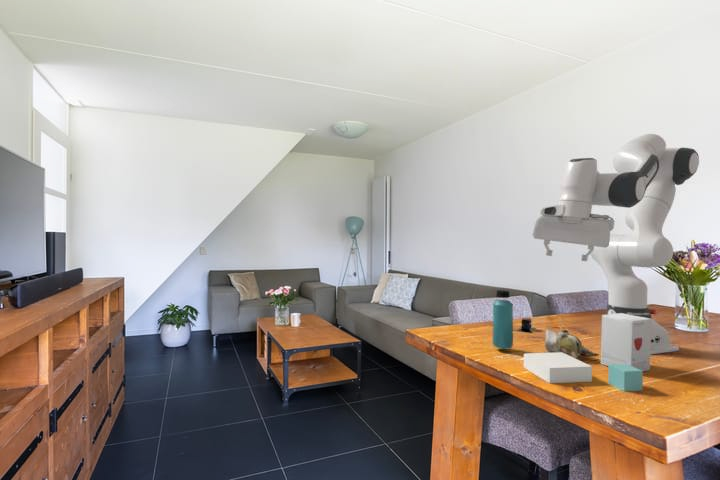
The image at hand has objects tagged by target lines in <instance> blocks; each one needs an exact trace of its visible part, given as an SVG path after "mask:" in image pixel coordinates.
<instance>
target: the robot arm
mask: <svg viewBox="0 0 720 480" xmlns="http://www.w3.org/2000/svg"><path fill="white" fill-rule="evenodd" d="M615 152H616V153H615V154H614V156H613V159H612V161H613V162H612V163H613V167H614V169H615V171H616V172H612V173H610V172H608V173H601V172H599V170H598V160H597V159H596V158H593V157H586V158H585V157H582V158H571V159H570V160H568V161H567V163H566V164H565V168H564V170H563V175H562V179H561V185H560V189H561V193H560V197H559V198H558V203H557V204H555V205H550V206H545V207H542V208H540V216H538V217H537V218H536V220H535V222H534V225H533V229H532V233H531V234H532V237H533V239H536V240H542V241H543V245H544V247H545V250H546V253H545V256H550V257H553V251H554V250H552V249H550V247H549V245H550V244H551V241H552V242H558V243H567V244H575V245H582V246H587V249H588V252H587V253H585V254H581V259H580V260H581V261H582V262H583V261H584V262H588V260H589V256H591V258H592V259H593V260H594V261H595V262H596V263H597V264H598V265H599V266H600V267H601V269H602V270H603V272H604V275H605V277H606V281H607V291H608V303H607V304H606V315H607V314H617V313H624V314H629V315H634V316H639V317H645V318H650V319H651V344H650V355H657V354H664V353H672V352H673V353H674V352H680V348H679V347H678V346H677V345H675V344H672V343H671V336H670V332H669V331H668V330H667V329H666V328H665V327H663V326H661V324H659V323H658V322H657V321H656V320H654V319H653V317H652V315H654V316H658V314H659V309H656V308H652V307H651V308H649V307H648V285H647V284H646V282H645V281H644V280H642V279H641V278H640V277H638V276H637V275H636V274H635V273H634V270H633V268H632V267H636V268H637V267H638V268H645V269H646V268H658V267H664V266H666V265H667V264H669V262H671V260H672V259H673V256H674V248H673V245H672V243H671V241H670V240H669V239H668V238H666V237H665V236H664V234H663V227H664V225H665V224H664V223H665V222H666V220H667V216H668V215H669V213H670V211H671V208H672V206H673V203H674V200H675V196H676V190H677V187H676V186H680V185H683V184H684V183H685V182H686V181H688V180H689V179H690V178H691V177H694V174H695V173H697V171H698V168H699V166H700V165H699V164H700V158H699V157H700V156H699V153H698V151H696V150H695V149H693V148H691V147H680V148H679V147H667V143H666V141H665V140H664V138H663V137H662V136H661V135H658V134H656V133H646V134H643V135H640V136H638V137H636V138H633V139H632V140H630V141H628V142H627V143H625V144H624V145H622V146H621V147H620V148H619V149H618V150H617V151H615ZM593 206H602V207H604V206H605V207H619V208H628V211H627V212H626V214H625V224H626V226H627V227H628V228H629V229H631V230H632V232H630V233H629V234H611V231H613V229H614V227H615V220H614V218H613V217H611V216H610V215H608V214H598V213H592V210H593V209H592V208H593Z"/></svg>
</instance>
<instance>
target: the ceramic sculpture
mask: <svg viewBox="0 0 720 480" xmlns="http://www.w3.org/2000/svg"><path fill="white" fill-rule="evenodd" d="M544 338H545V339H544V346H545V347H544V348H545V350H546V351H547V353H556V352H562V353H565V354H567V355H569V356H571V357H573V358H575V359H577V360H579V361H580V358H578V357H579V356H580V357H584V358H593V357H598V356H599V353H595V352H593V351H591V350H590V349H589V348H587V347H585V346H584V345H582V342H581V340H580V339H579V337H578V336H576V335H573V334H570V333H569V331H568V330H567V329H566V330H560V331H558V333H557V332H556V331H553V330H550V329H549V328H546V330H545V336H544Z"/></svg>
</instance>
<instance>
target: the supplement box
mask: <svg viewBox="0 0 720 480" xmlns="http://www.w3.org/2000/svg"><path fill="white" fill-rule="evenodd" d="M600 339H601V341H600V342H601V344H600V364H601V365H603V366H606V367H609V365H611V364H627V365H630V366H632V367H635V368H637V369H639V370H642V371H643V372H645V371H650V370H651V354H650V344H651V319H650V318H645V317H639V316H634V315H629V314H624V313H617V314H607V313H606V314H602V315H601V337H600Z"/></svg>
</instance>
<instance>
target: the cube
mask: <svg viewBox="0 0 720 480" xmlns="http://www.w3.org/2000/svg"><path fill="white" fill-rule="evenodd" d="M643 372H644V371H642V370H639V369H637V368H635V367H632V366H630V365H627V364H611V365H609V366H608V379H607V380H608V381H607V382H608V383H607V384H609V385H611V386H612V387H615V388H616V389H619V390H621V391H623V392H636V391H639V390H641V391H643V376H644V375H643Z"/></svg>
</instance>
